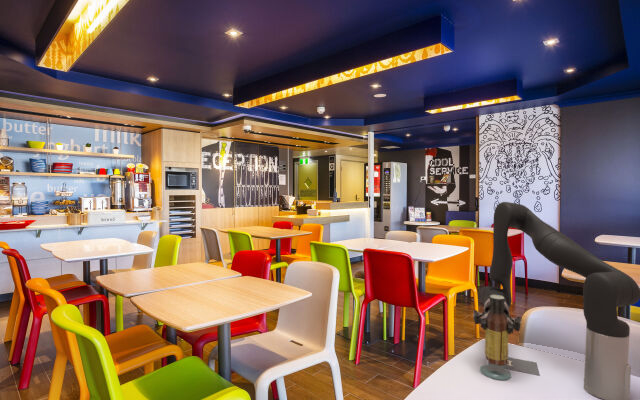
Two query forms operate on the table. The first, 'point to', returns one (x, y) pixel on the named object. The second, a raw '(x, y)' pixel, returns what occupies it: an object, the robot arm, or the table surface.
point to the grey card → (520, 366)
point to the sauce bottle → (496, 332)
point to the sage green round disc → (495, 372)
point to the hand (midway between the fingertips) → (496, 328)
